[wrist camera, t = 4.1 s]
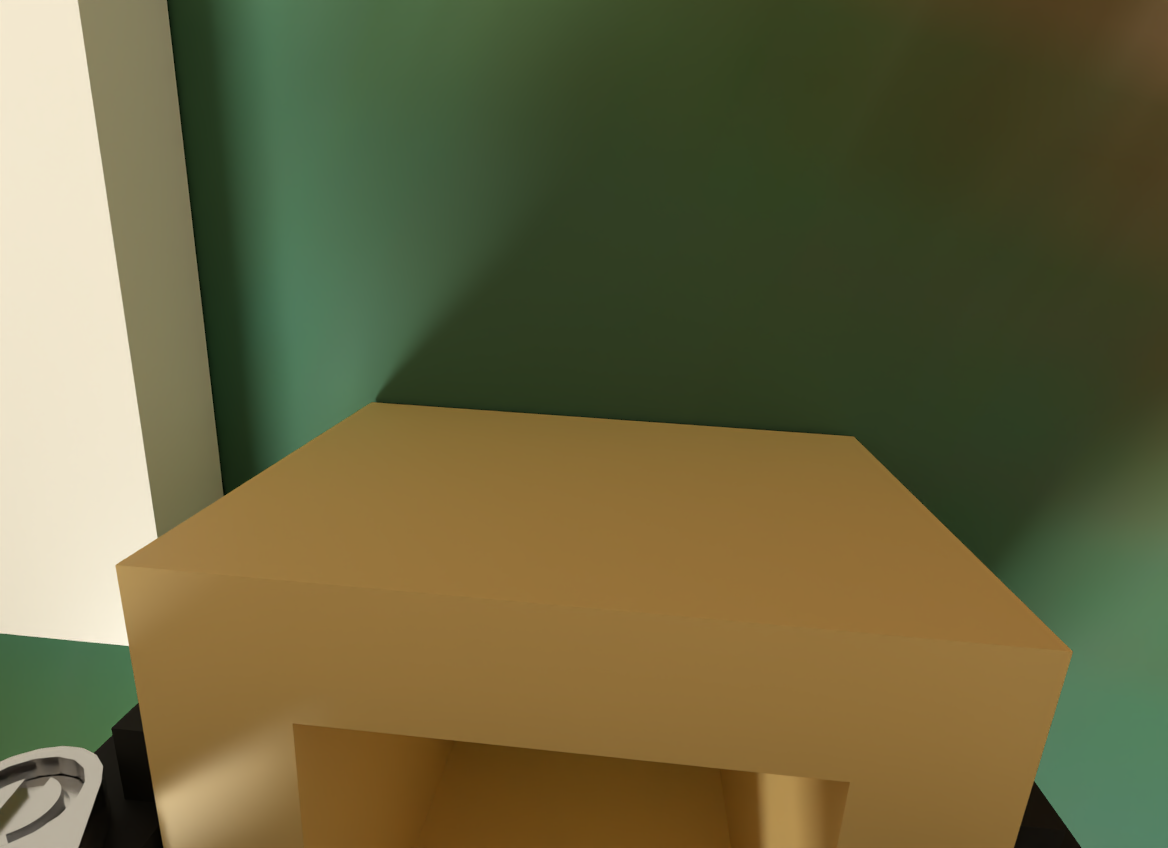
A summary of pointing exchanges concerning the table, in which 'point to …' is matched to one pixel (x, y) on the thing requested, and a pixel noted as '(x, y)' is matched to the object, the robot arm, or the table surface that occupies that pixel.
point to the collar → (581, 647)
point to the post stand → (94, 313)
